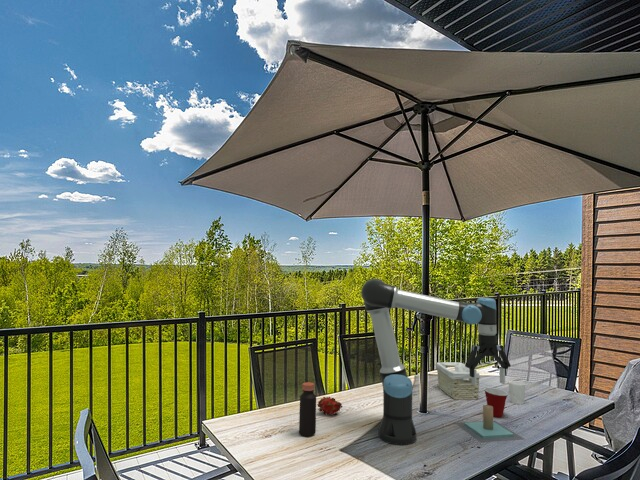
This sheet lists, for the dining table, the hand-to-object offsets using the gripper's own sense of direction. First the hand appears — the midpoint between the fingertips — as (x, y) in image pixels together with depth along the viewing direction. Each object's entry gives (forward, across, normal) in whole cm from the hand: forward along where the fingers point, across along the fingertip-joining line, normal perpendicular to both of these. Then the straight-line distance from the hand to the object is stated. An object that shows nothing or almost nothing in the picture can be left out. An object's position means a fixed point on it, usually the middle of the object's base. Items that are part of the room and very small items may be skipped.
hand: (488, 384), depth 169 cm
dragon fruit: (+19, -63, +29) cm, 72 cm away
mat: (+20, 0, 0) cm, 20 cm away
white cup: (+20, +39, +33) cm, 55 cm away
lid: (+19, 0, 0) cm, 19 cm away
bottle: (+19, -77, +8) cm, 80 cm away
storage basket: (+20, +14, +51) cm, 57 cm away
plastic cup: (+20, +14, +16) cm, 30 cm away
